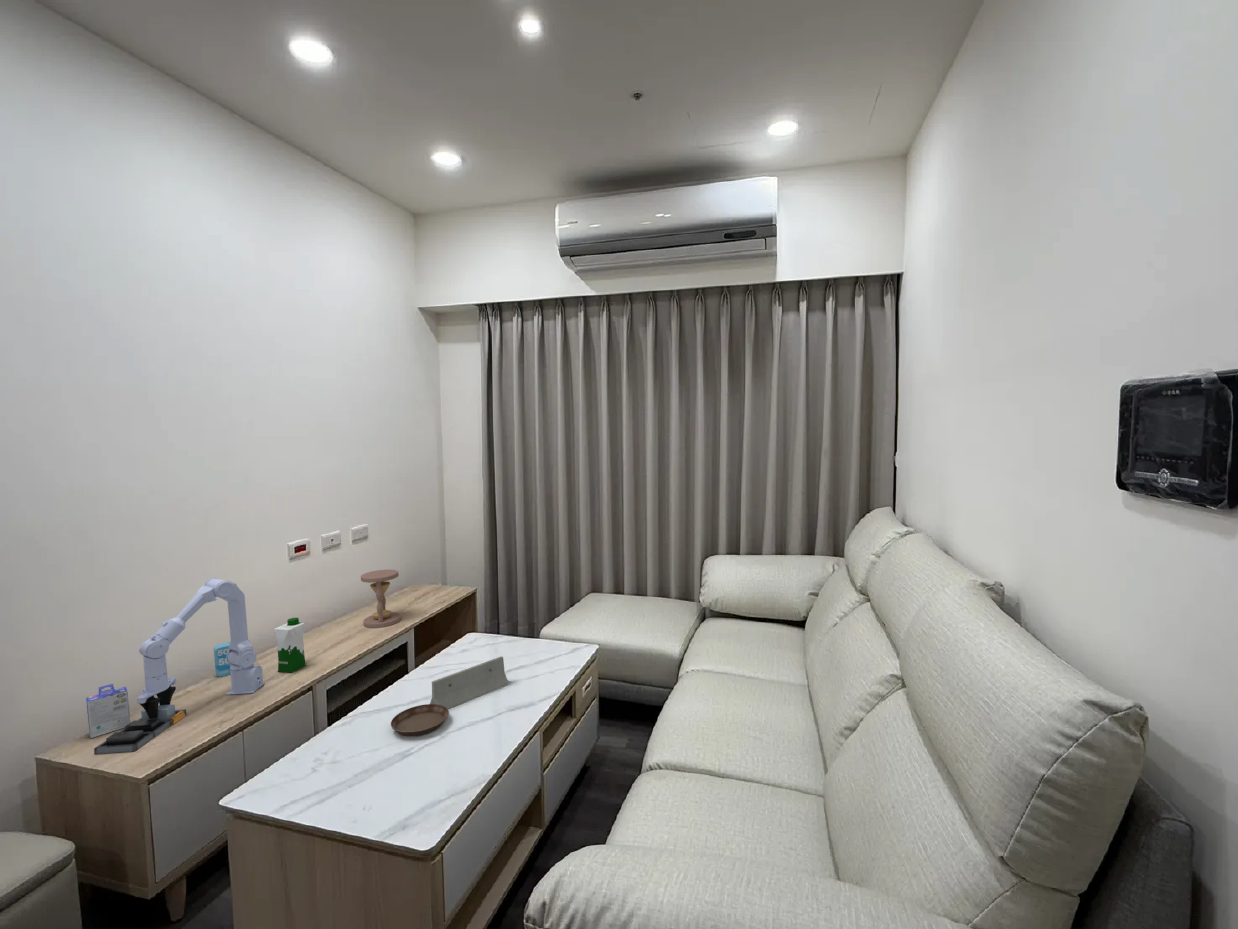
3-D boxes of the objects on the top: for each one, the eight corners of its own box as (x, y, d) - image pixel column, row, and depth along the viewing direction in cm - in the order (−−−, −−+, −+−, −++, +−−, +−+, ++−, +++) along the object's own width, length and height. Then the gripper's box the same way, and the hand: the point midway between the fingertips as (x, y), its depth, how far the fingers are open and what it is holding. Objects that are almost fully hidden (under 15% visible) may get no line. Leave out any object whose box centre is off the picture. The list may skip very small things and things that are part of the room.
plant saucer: (392, 718, 181) (391, 709, 180) (448, 707, 187) (447, 699, 186) (389, 746, 164) (389, 736, 164) (451, 733, 170) (450, 724, 170)
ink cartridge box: (129, 720, 184) (125, 679, 184) (131, 726, 181) (127, 683, 180) (88, 733, 177) (84, 689, 176) (90, 739, 173) (86, 695, 173)
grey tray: (187, 714, 187) (187, 704, 187) (136, 751, 166) (135, 740, 165) (150, 716, 186) (149, 707, 186) (94, 754, 165) (93, 743, 164)
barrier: (498, 679, 207) (497, 654, 207) (508, 685, 202) (507, 659, 202) (429, 707, 188) (427, 678, 187) (438, 714, 183) (437, 685, 182)
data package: (216, 678, 216) (214, 648, 216) (215, 674, 220) (213, 645, 219) (252, 668, 224) (250, 640, 223) (251, 665, 227) (249, 637, 227)
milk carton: (309, 665, 226) (306, 617, 225) (291, 674, 217) (288, 625, 216) (292, 663, 228) (288, 616, 227) (273, 672, 219) (270, 624, 218)
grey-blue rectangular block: (175, 718, 185) (174, 704, 185) (167, 724, 181) (166, 709, 181) (150, 720, 184) (149, 706, 184) (142, 726, 181) (141, 711, 181)
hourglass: (370, 617, 285) (367, 570, 283) (405, 615, 287) (402, 568, 285) (358, 629, 267) (355, 579, 266) (395, 626, 269) (392, 577, 268)
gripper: (159, 666, 189) (162, 704, 190) (125, 685, 175) (129, 726, 175) (181, 665, 190) (184, 703, 190) (148, 684, 175) (152, 724, 176)
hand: (159, 714), depth 183 cm, fingers open, 5 cm apart
